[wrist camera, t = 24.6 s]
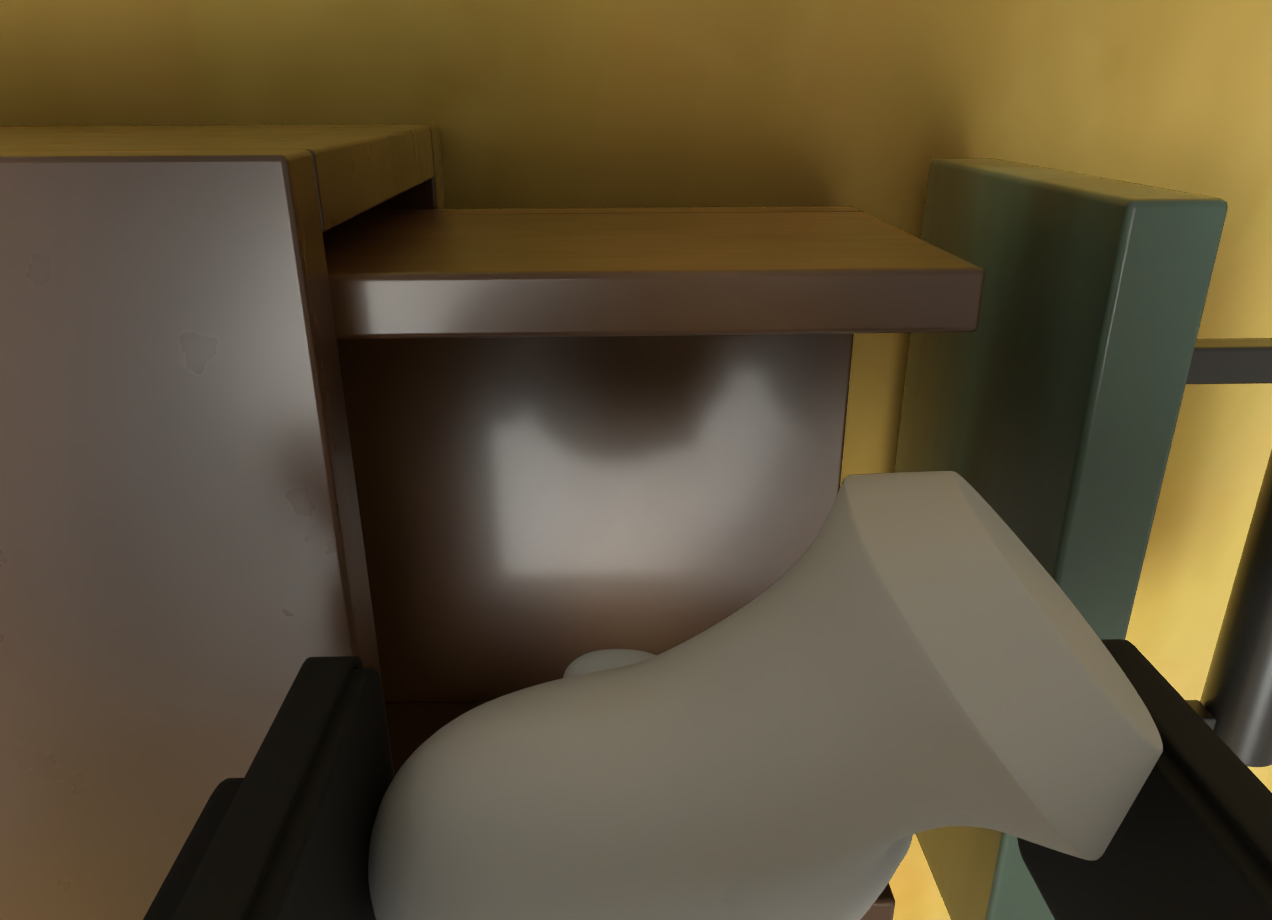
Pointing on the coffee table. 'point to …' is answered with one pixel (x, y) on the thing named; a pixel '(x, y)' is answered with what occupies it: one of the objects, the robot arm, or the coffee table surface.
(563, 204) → the coffee table surface
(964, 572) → the pale two-lobed sculpture
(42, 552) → the cabinet
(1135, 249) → the drawer
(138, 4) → the coffee table surface
